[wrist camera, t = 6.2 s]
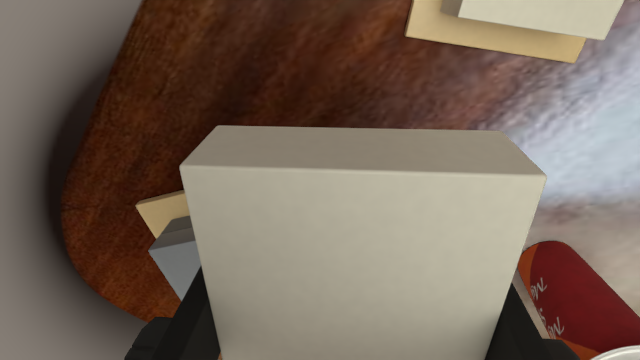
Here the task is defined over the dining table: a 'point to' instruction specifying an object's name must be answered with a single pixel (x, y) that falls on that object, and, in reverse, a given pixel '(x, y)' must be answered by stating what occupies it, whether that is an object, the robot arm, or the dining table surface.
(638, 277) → the dining table surface
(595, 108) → the dining table surface
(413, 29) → the cream box
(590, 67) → the dining table surface
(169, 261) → the grey stack
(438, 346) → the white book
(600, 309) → the paper cup
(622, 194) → the dining table surface
